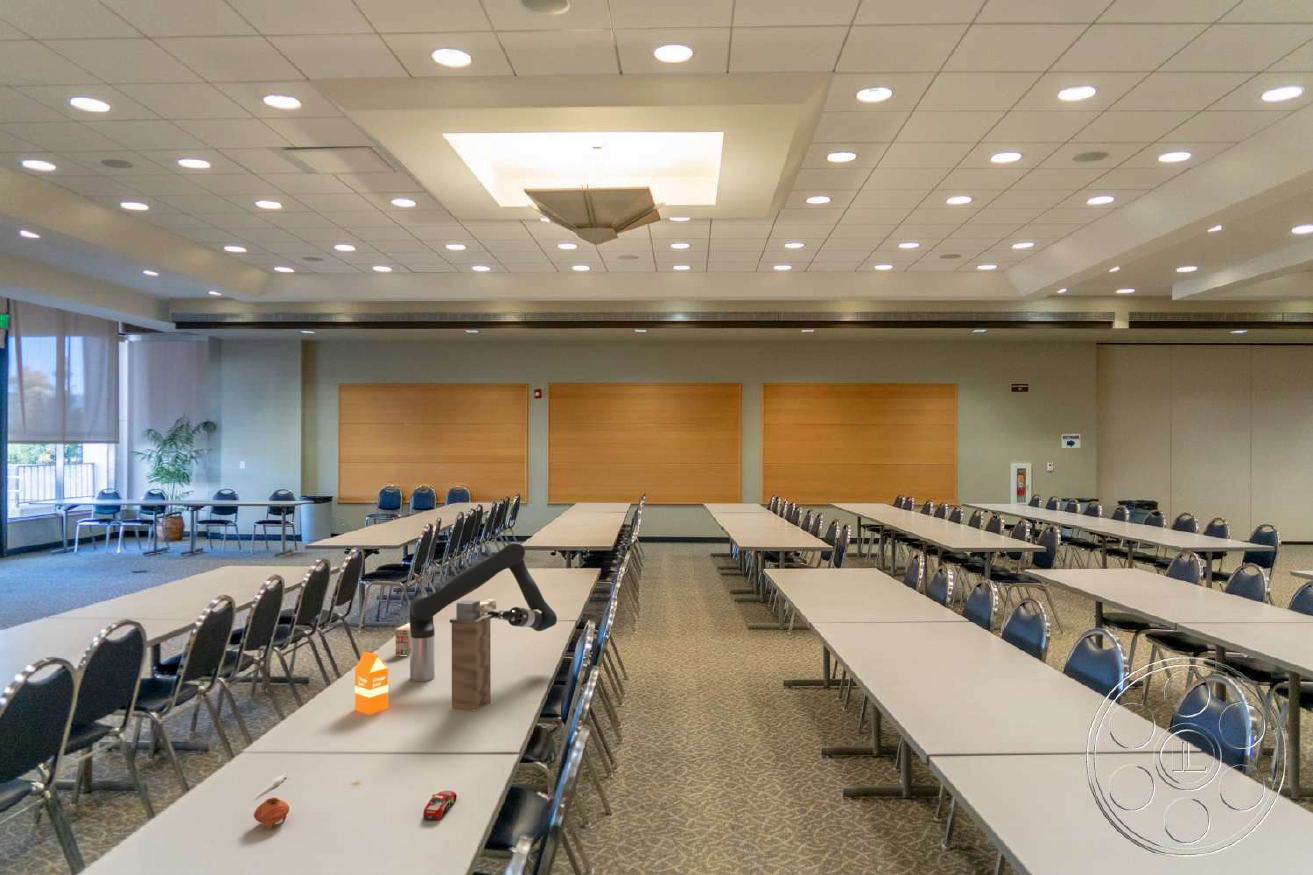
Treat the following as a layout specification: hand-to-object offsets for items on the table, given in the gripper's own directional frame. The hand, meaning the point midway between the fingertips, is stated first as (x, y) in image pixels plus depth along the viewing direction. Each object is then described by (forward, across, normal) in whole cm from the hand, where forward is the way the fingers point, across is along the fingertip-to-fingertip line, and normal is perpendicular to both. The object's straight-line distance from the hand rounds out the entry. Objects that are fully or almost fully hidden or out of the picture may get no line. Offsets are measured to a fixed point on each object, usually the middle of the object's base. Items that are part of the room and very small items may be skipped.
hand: (496, 613), depth 296 cm
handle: (+15, +3, +1) cm, 15 cm away
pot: (+96, +14, +60) cm, 114 cm away
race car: (+72, +46, +56) cm, 102 cm away
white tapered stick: (+84, -5, +55) cm, 101 cm away
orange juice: (+29, -28, +37) cm, 55 cm away
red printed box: (-33, -72, +15) cm, 80 cm away
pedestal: (+10, +2, +33) cm, 35 cm away
